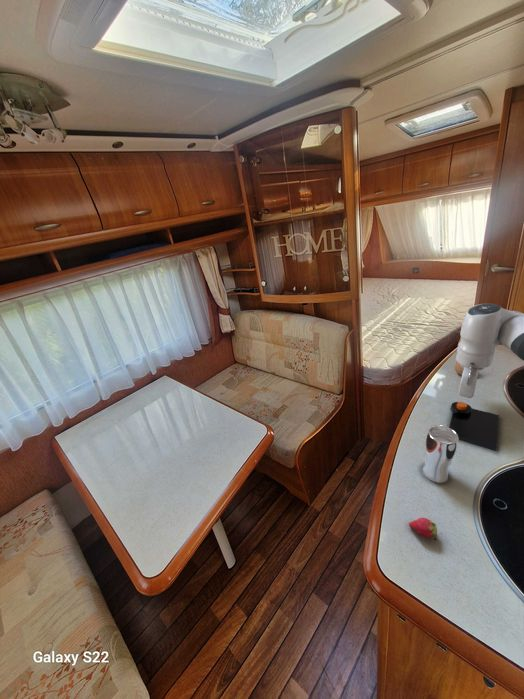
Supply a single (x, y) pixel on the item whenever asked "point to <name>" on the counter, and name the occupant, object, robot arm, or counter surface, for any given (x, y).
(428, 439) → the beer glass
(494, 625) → the counter surface
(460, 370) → the egg
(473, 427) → the scale
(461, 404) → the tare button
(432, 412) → the counter surface
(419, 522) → the fruit
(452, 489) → the counter surface
